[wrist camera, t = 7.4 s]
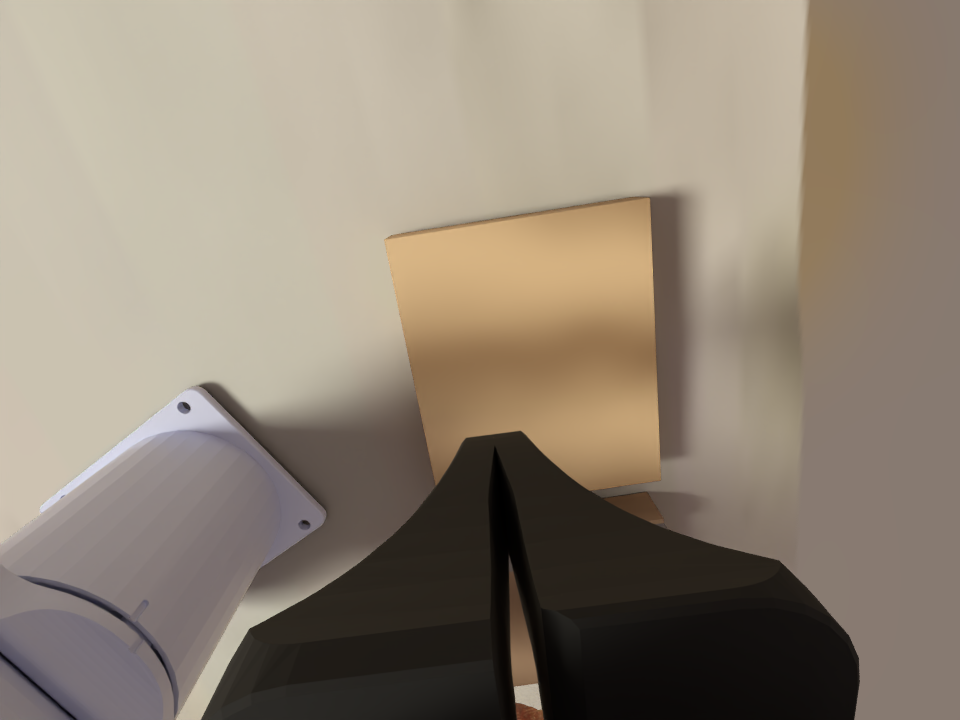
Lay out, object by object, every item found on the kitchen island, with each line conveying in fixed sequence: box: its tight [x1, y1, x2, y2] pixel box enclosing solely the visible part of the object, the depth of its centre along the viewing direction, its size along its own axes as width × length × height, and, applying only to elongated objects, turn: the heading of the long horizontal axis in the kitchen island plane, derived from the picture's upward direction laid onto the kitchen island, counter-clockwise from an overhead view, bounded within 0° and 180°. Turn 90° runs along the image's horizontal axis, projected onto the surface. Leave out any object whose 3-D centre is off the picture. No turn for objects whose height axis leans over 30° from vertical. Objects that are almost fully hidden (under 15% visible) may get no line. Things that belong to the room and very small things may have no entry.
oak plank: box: [384, 197, 661, 491], centre depth 19 cm, size 11×9×2 cm
